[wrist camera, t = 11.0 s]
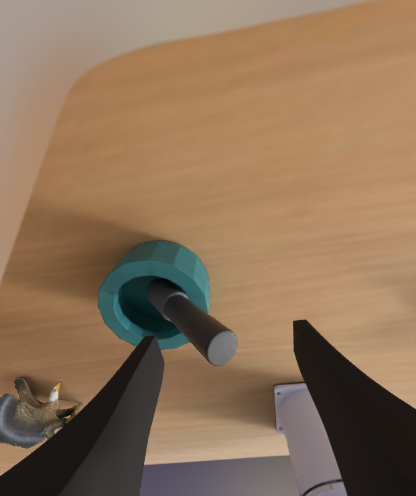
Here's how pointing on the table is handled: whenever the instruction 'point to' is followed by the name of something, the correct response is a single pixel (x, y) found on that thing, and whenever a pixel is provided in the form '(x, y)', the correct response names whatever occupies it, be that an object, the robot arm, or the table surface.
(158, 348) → the robot arm
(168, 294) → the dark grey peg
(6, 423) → the eagle figurine
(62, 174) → the table surface
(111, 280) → the teal hollow cylinder
